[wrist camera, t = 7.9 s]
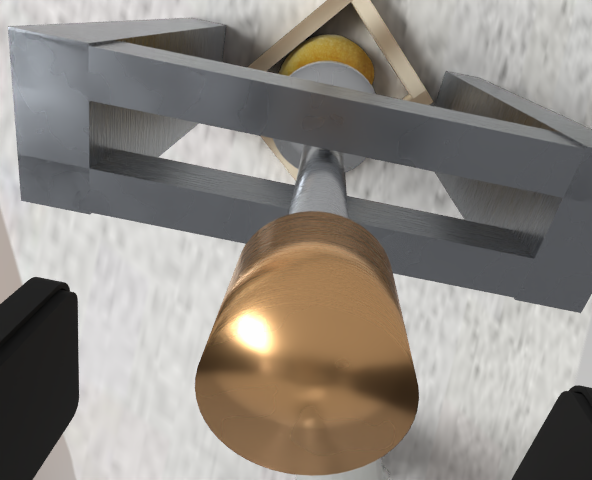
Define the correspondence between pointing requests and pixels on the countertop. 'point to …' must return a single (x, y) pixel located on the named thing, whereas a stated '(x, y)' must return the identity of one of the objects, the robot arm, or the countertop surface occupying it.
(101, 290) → the countertop surface
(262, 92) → the frame
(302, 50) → the bread roll
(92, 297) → the countertop surface
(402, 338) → the plunger
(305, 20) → the cradle
